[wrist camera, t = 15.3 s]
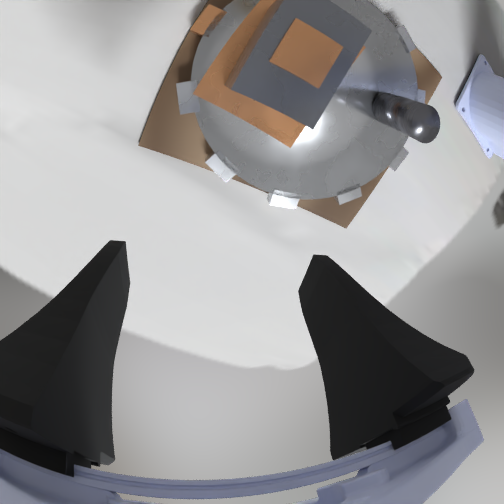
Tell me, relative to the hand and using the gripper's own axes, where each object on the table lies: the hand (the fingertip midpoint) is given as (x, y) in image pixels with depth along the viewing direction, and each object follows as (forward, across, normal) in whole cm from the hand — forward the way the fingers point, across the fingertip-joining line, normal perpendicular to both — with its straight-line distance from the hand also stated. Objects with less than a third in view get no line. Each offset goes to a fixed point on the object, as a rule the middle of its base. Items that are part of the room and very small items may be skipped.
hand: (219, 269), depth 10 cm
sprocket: (+10, -6, -7) cm, 14 cm away
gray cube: (+9, -2, -8) cm, 12 cm away
